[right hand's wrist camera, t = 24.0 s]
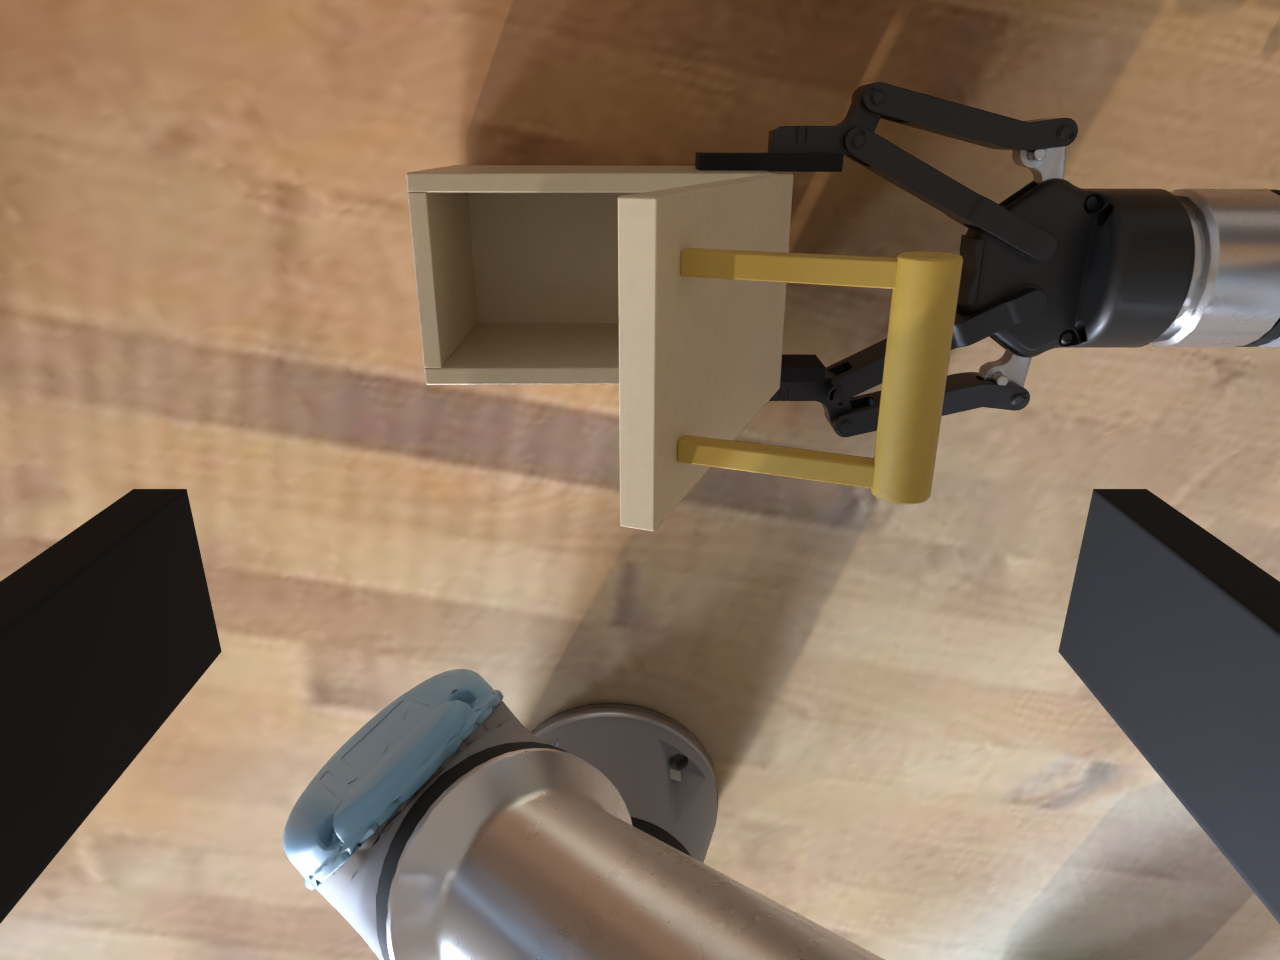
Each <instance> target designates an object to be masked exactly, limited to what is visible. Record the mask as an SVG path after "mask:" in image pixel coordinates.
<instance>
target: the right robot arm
mask: <svg viewBox="0 0 1280 960" xmlns="http://www.w3.org/2000/svg"><path fill="white" fill-rule="evenodd" d="M220 653H221V647H220V643H219V638H218V633H217V629H216V624H215V619H214V615H213V610H212V606H211V601H210V596H209V592H208V587H207V582H206V578H205V573H204V568H203V564H202V559H201V554H200V550H199V545H198V540H197V536H196V531H195V526H194V522H193V517H192V513H191V508H190V503H189V499H188V494H187V489H133V490H132V491H130V492H129V493H127V494H126V495H124V496H123V497H122V498H120V499H119V500H117V501H116V502H114V503H113V504H112V505H110V506H109V507H107V508H106V509H104V510H103V511H101V512H100V513H99V514H97V515H96V516H94V517H93V518H91V519H90V520H89V521H87V522H86V523H84V524H83V525H81V526H80V527H78V528H77V529H76V530H74V531H73V532H71V533H70V534H68V535H67V536H66V537H64V538H63V539H61V540H60V541H58V542H57V543H55V544H54V545H53V546H51V547H50V548H48V549H47V550H45V551H44V552H43V553H41V554H40V555H38V556H37V557H35V558H34V559H32V560H31V561H30V562H28V563H27V564H25V565H24V566H22V567H21V568H20V569H18V570H17V571H15V572H14V573H12V574H11V575H9V576H8V577H7V578H5V579H4V580H2V581H1V582H0V923H1V922H2V921H3V920H4V918H5V917H6V916H7V915H8V913H9V912H10V911H11V910H12V908H13V907H14V906H15V905H16V904H17V902H18V901H19V900H20V899H21V897H22V896H23V895H24V894H25V893H26V891H27V890H28V889H29V888H30V886H31V885H32V884H33V883H34V881H35V880H36V879H37V878H38V877H39V875H40V874H41V873H42V872H43V870H44V869H45V868H46V867H47V865H48V864H49V863H50V862H51V861H52V859H53V858H54V857H55V856H56V854H57V853H58V852H59V851H60V849H61V848H62V847H63V846H64V845H65V843H66V842H67V841H68V840H69V838H70V837H71V836H72V835H73V833H74V832H75V831H76V830H77V829H78V827H79V826H80V825H81V824H82V822H83V821H84V820H85V819H86V818H87V816H88V815H89V814H90V813H91V811H92V810H93V809H94V808H95V806H96V805H97V804H98V803H99V802H100V800H101V799H102V798H103V797H104V795H105V794H106V793H107V792H108V790H109V789H110V788H111V787H112V786H113V784H114V783H115V782H116V781H117V779H118V778H119V777H120V776H121V774H122V773H123V772H124V771H125V770H126V768H127V767H128V766H129V765H130V763H131V762H132V761H133V760H134V758H135V757H136V756H137V755H138V754H139V752H140V751H141V750H142V749H143V747H144V746H145V745H146V744H147V743H148V741H149V740H150V739H151V738H152V736H153V735H154V734H155V733H156V731H157V730H158V729H159V728H160V727H161V725H162V724H163V723H164V722H165V720H166V719H167V718H168V717H169V715H170V714H171V713H172V712H173V711H174V709H175V708H176V707H177V706H178V704H179V703H180V702H181V701H182V699H183V698H184V697H185V696H186V695H187V693H188V692H189V691H190V690H191V688H192V687H193V686H194V685H195V683H196V682H197V681H198V680H199V679H200V677H201V676H202V675H203V674H204V672H205V671H206V670H207V669H208V668H209V666H210V665H211V664H212V663H213V661H214V660H215V659H216V658H217V656H218V655H219V654H220ZM1059 653H1060V654H1061V655H1062V656H1063V658H1064V659H1065V660H1066V661H1067V663H1068V664H1069V665H1070V666H1071V668H1072V669H1073V670H1074V671H1075V672H1076V674H1077V675H1078V676H1079V677H1080V679H1081V680H1082V681H1083V682H1084V683H1085V685H1086V686H1087V687H1088V688H1089V690H1090V691H1091V692H1092V693H1093V695H1094V696H1095V697H1096V698H1097V699H1098V701H1099V702H1100V703H1101V704H1102V706H1103V707H1104V708H1105V709H1106V711H1107V712H1108V713H1109V714H1110V715H1111V717H1112V718H1113V719H1114V720H1115V722H1116V723H1117V724H1118V725H1119V727H1120V728H1121V729H1122V730H1123V731H1124V733H1125V734H1126V735H1127V736H1128V738H1129V739H1130V740H1131V741H1132V743H1133V744H1134V745H1135V746H1136V747H1137V749H1138V750H1139V751H1140V752H1141V754H1142V755H1143V756H1144V757H1145V758H1146V760H1147V761H1148V762H1149V763H1150V765H1151V766H1152V767H1153V768H1154V770H1155V771H1156V772H1157V773H1158V774H1159V776H1160V777H1161V778H1162V779H1163V781H1164V782H1165V783H1166V784H1167V786H1168V787H1169V788H1170V789H1171V790H1172V792H1173V793H1174V794H1175V795H1176V797H1177V798H1178V799H1179V800H1180V802H1181V803H1182V804H1183V805H1184V806H1185V808H1186V809H1187V810H1188V811H1189V813H1190V814H1191V815H1192V816H1193V818H1194V819H1195V820H1196V821H1197V822H1198V824H1199V825H1200V826H1201V827H1202V829H1203V830H1204V831H1205V832H1206V833H1207V835H1208V836H1209V837H1210V838H1211V840H1212V841H1213V842H1214V843H1215V845H1216V846H1217V847H1218V848H1219V849H1220V851H1221V852H1222V853H1223V854H1224V856H1225V857H1226V858H1227V859H1228V861H1229V862H1230V863H1231V864H1232V865H1233V867H1234V868H1235V869H1236V870H1237V872H1238V873H1239V874H1240V875H1241V877H1242V878H1243V879H1244V880H1245V881H1246V883H1247V884H1248V885H1249V886H1250V888H1251V889H1252V890H1253V891H1254V893H1255V894H1256V895H1257V896H1258V897H1259V899H1260V900H1261V901H1262V902H1263V904H1264V905H1265V906H1266V907H1267V908H1268V910H1269V911H1270V912H1271V913H1272V915H1273V916H1274V917H1275V918H1276V920H1277V921H1278V922H1279V923H1280V582H1279V581H1278V580H1276V579H1275V578H1273V577H1272V576H1271V575H1269V574H1268V573H1266V572H1265V571H1263V570H1262V569H1260V568H1259V567H1258V566H1256V565H1255V564H1253V563H1252V562H1250V561H1249V560H1248V559H1246V558H1245V557H1243V556H1242V555H1240V554H1239V553H1237V552H1236V551H1235V550H1233V549H1232V548H1230V547H1229V546H1227V545H1226V544H1225V543H1223V542H1222V541H1220V540H1219V539H1217V538H1216V537H1214V536H1213V535H1212V534H1210V533H1209V532H1207V531H1206V530H1204V529H1203V528H1202V527H1200V526H1199V525H1197V524H1196V523H1194V522H1193V521H1191V520H1190V519H1189V518H1187V517H1186V516H1184V515H1183V514H1181V513H1180V512H1179V511H1177V510H1176V509H1174V508H1173V507H1171V506H1170V505H1168V504H1167V503H1166V502H1164V501H1163V500H1161V499H1160V498H1158V497H1157V496H1156V495H1154V494H1153V493H1151V492H1150V491H1148V490H1147V489H1093V494H1092V499H1091V503H1090V508H1089V513H1088V517H1087V522H1086V526H1085V531H1084V536H1083V540H1082V545H1081V550H1080V554H1079V559H1078V564H1077V568H1076V573H1075V578H1074V582H1073V587H1072V592H1071V596H1070V601H1069V606H1068V610H1067V615H1066V619H1065V624H1064V629H1063V633H1062V638H1061V643H1060V647H1059Z"/></svg>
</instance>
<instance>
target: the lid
mask: <svg viewBox="0 0 1280 960" xmlns="http://www.w3.org/2000/svg"><path fill="white" fill-rule="evenodd" d="M792 191H793V174H763V175H756V176H750V177H743V178H736V179H730V180H723V181H716V182H710V183H703V184H696V185H690V186H683V187H676V188H670V189H663V190H656V191H650V192H643V193H636V194H630V195H623V196H619V197H618V287H619V420H620V525H621V526H624V527H630V528H636V529H642V530H648V531H655V530H656V529H657V528H658V526H659V525H660V524H661V523H662V522H663V521H664V520H665V518H666V517H667V516H668V515H669V514H670V513H671V512H672V510H673V509H674V508H675V507H676V506H677V505H678V504H679V503H680V501H681V500H682V499H683V498H684V497H685V496H686V495H687V493H688V492H689V491H690V490H691V489H692V488H693V487H694V485H695V484H696V483H697V482H698V481H699V480H700V479H701V477H702V476H703V475H704V474H705V473H706V472H707V471H708V469H709V468H710V467H718V468H725V469H732V470H740V471H747V472H754V473H762V474H769V475H776V476H784V477H791V478H798V479H805V480H813V481H820V482H827V483H835V484H842V485H849V486H857V487H864V488H871V491H872V493H873V494H874V495H875V496H876V497H878V498H880V499H882V500H885V501H888V502H893V503H899V504H917V503H922V502H924V501H926V500H928V498H929V497H930V494H931V487H932V479H933V472H934V465H935V458H936V451H937V444H938V436H939V429H940V422H941V415H942V408H943V401H944V393H945V386H946V379H947V372H948V365H949V357H950V350H951V343H952V336H953V329H954V322H955V314H956V307H957V300H958V293H959V286H960V278H961V271H962V264H963V257H962V256H960V255H958V254H954V253H947V252H935V251H909V252H902V253H899V254H898V255H897V256H896V258H893V257H871V256H850V255H829V254H808V253H789V238H790V222H791V207H792ZM787 283H803V284H820V285H836V286H853V287H870V288H887V289H893V291H892V300H891V309H890V318H889V327H888V336H887V345H886V354H885V363H884V372H883V381H882V390H881V399H880V408H879V417H878V427H877V436H876V445H875V454H874V458H867V457H859V456H851V455H843V454H835V453H827V452H819V451H811V450H803V449H795V448H787V447H779V446H771V445H763V444H755V443H747V442H739V441H734V440H735V439H736V437H737V436H738V435H739V434H740V433H741V432H742V431H743V430H744V428H745V427H746V426H747V425H748V424H749V423H750V422H751V420H752V419H753V418H754V417H755V416H756V415H757V414H758V412H759V411H760V410H761V409H762V408H763V407H764V406H765V404H766V403H767V402H768V401H769V400H770V399H771V398H772V396H773V395H774V394H775V393H776V392H777V391H778V390H779V388H780V377H781V361H782V346H783V330H784V315H785V300H786V284H787Z"/></svg>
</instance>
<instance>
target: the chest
mask: <svg viewBox="0 0 1280 960" xmlns="http://www.w3.org/2000/svg"><path fill="white" fill-rule="evenodd" d="M763 174H777V173H774V172H769V171H699V170H697V169H695V165H453V166H447V167H440V168H434V169H428V170H421V171H415V172H409V173H406V178H407V189H408V192H409V193H408V201H409V211H410V222H411V233H412V243H413V254H414V264H415V275H416V286H417V296H418V307H419V317H420V328H421V338H422V349H423V360H424V368H425V379H426V384H428V385H462V384H619V287H618V197H619V196H623V195H630V194H636V193H643V192H650V191H656V190H663V189H670V188H676V187H683V186H690V185H696V184H703V183H710V182H716V181H723V180H730V179H736V178H743V177H750V176H756V175H763Z"/></svg>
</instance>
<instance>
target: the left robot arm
mask: <svg viewBox="0 0 1280 960" xmlns="http://www.w3.org/2000/svg"><path fill="white" fill-rule="evenodd" d="M851 102H852V103H851V105H850V108H849V110H848V112H847V115H846V116H845V118H844V119H843V121H842V122H841V123H839V124H838V125H835V126H780V127H778V128H775V129H773V130H771V131H769V141H768V153H696V161H695V169H697V170H699V171H796V172H842V165H843V155H845V156H847V157H848V158H850V159H852V160H854V161H855V162H857V163H859V164H860V165H862V166H864V167H866V168H867V169H869V170H871V171H872V172H874V173H876V174H878V175H879V176H881V177H883V178H885V179H886V180H888V181H890V182H891V183H893V184H895V185H897V186H898V187H900V188H902V189H904V190H905V191H907V192H909V193H910V194H912V195H914V196H916V197H917V198H919V199H921V200H923V201H924V202H926V203H928V204H929V205H931V206H933V207H935V208H936V209H938V210H940V211H941V212H943V213H945V214H946V215H947V216H949V217H950V218H952V219H953V220H955V221H957V222H959V223H960V224H962V225H964V226H965V227H967V228H969V229H968V231H967V233H966V235H962V238H961V245H960V256H962V257H963V264H962V271H961V278H960V286H959V293H958V300H957V307H956V314H955V322H954V329H953V336H952V343H951V350H952V349H955V348H958V347H965V346H969V345H971V344H973V343H976V342H978V341H980V340H982V339H984V338H986V337H988V336H990V337H991V338H992V339H993V340H995V341H996V342H997V343H998V344H1000V345H1001V346H1002V347H1003V348H1005V349H1006V351H1005V353H1004V355H1003V356H1002V358H1000V359H999V360H997V361H993V362H988V363H985V364H984V365H982V366H981V367H980V369H979V373H977V372H967V373H958V374H953V375H949V376H947V379H946V386H945V393H944V401H943V408H942V415H941V416H943V415H948V414H952V413H957V412H961V411H966V410H970V409H975V408H979V407H989V408H998V409H1007V410H1020V409H1023V408H1024V407H1025V406H1026V405H1027V404H1028V402H1029V400H1030V395H1029V392H1028V391H1027V390H1026V389H1025V388H1023V385H1024V382H1025V378H1026V375H1027V371H1028V368H1029V364H1030V361H1031V358H1032V357H1034V356H1037V355H1039V354H1041V353H1043V352H1045V351H1047V350H1050V349H1053V348H1059V347H1142V346H1145V345H1147V344H1149V345H1151V346H1153V347H1254V346H1267V347H1280V190H1268V189H1179V190H1174V191H1172V192H1168V191H1166V190H1162V189H1081V188H1078V187H1076V186H1074V185H1072V184H1071V183H1070V182H1068V181H1066V180H1064V179H1063V177H1064V163H1065V149H1066V146H1067V145H1069V144H1070V143H1072V142H1073V141H1074V139H1075V138H1076V136H1077V132H1078V128H1077V124H1076V123H1075V121H1074V120H1072V119H1071V118H1053V119H1038V120H1029V121H1020V120H1017V119H1013V118H1009V117H1006V116H1002V115H998V114H995V113H991V112H987V111H984V110H980V109H977V108H973V107H969V106H966V105H962V104H958V103H955V102H951V101H947V100H944V99H940V98H936V97H933V96H929V95H926V94H922V93H918V92H915V91H911V90H907V89H904V88H900V87H896V86H893V85H889V84H885V83H880V82H876V83H872V84H867V85H863V86H861V87H858V88H857V89H856V90H855V91H854V93H853V95H852V101H851ZM880 118H881V119H885V120H888V121H892V122H896V123H899V124H903V125H907V126H910V127H914V128H918V129H922V130H925V131H929V132H933V133H936V134H940V135H944V136H947V137H951V138H955V139H959V140H962V141H966V142H970V143H973V144H977V145H981V146H984V147H989V148H994V149H1004V150H1013V152H1012V156H1013V161H1014V162H1015V164H1016V165H1018V166H1020V167H1026V168H1028V169H1030V170H1031V171H1032V173H1033V175H1034V181H1032V182H1031V183H1029V184H1028V185H1026V186H1025V187H1023V188H1022V189H1020V190H1019V191H1017V192H1016V193H1014V194H1013V195H1011V196H1010V197H1009V198H1007V199H1006V200H1004V201H1003V202H1001V203H1000V204H997V203H995V202H993V201H992V200H990V199H988V198H986V197H984V196H981V195H979V194H977V193H975V192H974V191H972V190H970V189H969V188H967V187H965V186H963V185H962V184H960V183H958V182H957V181H955V180H953V179H952V178H950V177H948V176H946V175H945V174H943V173H941V172H940V171H938V170H936V169H935V168H933V167H931V166H929V165H928V164H926V163H924V162H923V161H921V160H919V159H918V158H916V157H914V156H913V155H911V154H909V153H907V152H906V151H904V150H902V149H901V148H899V147H897V146H896V145H894V144H892V143H890V142H889V141H887V140H885V139H884V138H882V137H880V136H879V135H877V134H875V133H874V131H875V129H876V126H877V124H878V122H879V119H880ZM886 345H887V339H885V340H882V341H880V342H878V343H876V344H874V345H872V346H870V347H868V348H866V349H864V350H862V351H860V352H858V353H856V354H854V355H851V356H849V357H847V358H845V359H843V360H841V361H839V362H837V363H835V364H833V365H831V366H829V367H827V368H825V366H824V365H823V364H822V363H821V361H820V360H819V359H818V358H817V356H816V355H782V361H781V377H780V388H779V390H778V391H777V392H776V393H775V394H774V395H773V396H772V398H771V399H770V400H769V401H818V402H821V403H822V404H823V407H824V410H825V416H826V419H827V420H828V422H829V423H830V425H831V426H832V428H833V429H834V431H835V432H836V433H837V434H838V435H839V436H841V437H849V436H854V435H858V434H863V433H867V432H872V431H876V430H877V427H878V417H879V408H880V399H881V391H878V392H874V393H869V394H865V395H860V396H856V397H853V396H855V395H857V394H860V393H862V392H864V391H866V390H868V389H870V388H872V387H874V386H876V385H879V384H881V383H882V381H883V372H884V363H885V354H886ZM851 397H852V398H851ZM502 699H503V695H502V693H501V692H500V691H499V690H494V689H493V688H492V687H491V686H490V685H489V684H488V683H487V682H486V681H485V680H484V679H483V678H482V677H481V676H480V675H479V674H477V673H476V672H474V671H471V670H467V669H456V670H450V671H446V672H443V673H441V674H438V675H436V676H434V677H432V678H430V679H428V680H426V681H424V682H422V683H421V684H419V685H417V686H416V687H414V688H413V689H411V690H410V691H408V692H406V693H405V694H403V695H402V696H400V697H399V698H398V699H396V700H395V701H394V702H392V703H391V704H390V705H388V706H387V707H386V708H384V709H383V710H382V711H381V712H380V713H378V714H377V715H376V716H375V717H373V718H372V719H371V720H370V721H369V722H368V723H366V724H365V725H364V726H363V727H362V728H361V729H360V730H359V731H358V732H357V733H355V734H354V735H353V736H352V737H351V738H350V739H349V740H348V741H347V742H346V743H345V744H344V745H343V746H342V747H341V748H340V749H339V750H338V751H337V752H336V753H335V754H334V755H333V756H332V757H331V759H330V760H329V761H328V762H327V763H326V764H325V765H324V766H323V768H322V769H321V770H320V771H319V772H318V774H317V775H316V776H315V777H314V779H313V780H312V781H311V782H310V783H309V785H308V787H307V788H306V790H305V791H304V792H303V793H302V795H301V796H300V798H299V799H298V801H297V802H296V804H295V806H294V808H293V809H292V811H291V813H290V816H289V818H288V820H287V823H286V826H285V830H284V836H283V842H284V849H285V852H286V854H287V857H288V858H289V860H290V861H291V862H292V863H293V865H294V866H295V867H296V868H297V869H298V870H299V872H300V873H301V874H302V875H303V876H304V877H305V886H306V887H308V888H309V889H311V891H312V890H313V889H314V888H316V889H317V890H318V891H319V892H320V893H321V894H322V895H323V896H324V897H325V898H326V899H327V900H328V901H329V902H330V903H331V904H332V905H333V906H334V907H335V908H336V909H337V910H338V911H339V912H340V913H341V914H342V915H343V916H344V918H345V919H346V920H347V921H348V922H349V923H350V924H351V925H352V926H353V927H354V928H355V929H356V931H357V932H358V933H359V934H360V935H361V936H362V937H363V939H364V940H365V941H366V942H367V944H368V945H369V946H370V948H371V949H372V950H373V952H374V953H375V954H376V956H377V957H378V958H379V959H380V960H884V959H883V958H881V957H879V956H877V955H875V954H873V953H871V952H869V951H867V950H866V949H864V948H862V947H860V946H858V945H856V944H854V943H852V942H851V941H849V940H847V939H845V938H843V937H841V936H839V935H837V934H835V933H834V932H832V931H830V930H828V929H826V928H824V927H822V926H820V925H818V924H817V923H815V922H813V921H811V920H809V919H807V918H805V917H803V916H802V915H800V914H798V913H796V912H794V911H792V910H790V909H788V908H786V907H785V906H783V905H781V904H779V903H777V902H775V901H773V900H771V899H770V898H768V897H766V896H764V895H762V894H760V893H758V892H756V891H754V890H753V889H751V888H749V887H747V886H745V885H743V884H741V883H739V882H737V881H736V880H734V879H732V878H730V877H728V876H726V875H724V874H722V873H721V872H719V871H717V870H715V869H713V868H711V867H709V866H707V865H705V864H704V863H703V862H704V859H705V856H706V853H707V850H708V847H709V843H710V840H711V837H712V834H713V831H714V828H715V824H716V818H717V810H718V793H717V784H716V777H715V772H714V768H713V765H712V763H711V760H710V758H709V756H708V754H707V752H706V751H705V749H704V748H703V746H702V745H701V744H700V742H699V741H698V740H697V739H696V738H695V737H694V736H693V735H692V734H691V733H690V732H689V731H688V730H687V729H685V728H684V727H683V726H681V725H680V724H679V723H677V722H675V721H674V720H672V719H670V718H668V717H666V716H664V715H662V714H660V713H657V712H655V711H652V710H649V709H646V708H642V707H637V706H633V705H625V704H595V705H588V706H583V707H578V708H575V709H571V710H568V711H566V712H563V713H561V714H558V715H556V716H554V717H552V718H550V719H549V720H547V721H545V722H544V723H542V724H541V725H539V726H538V727H537V728H536V729H534V730H533V731H532V732H530V731H528V730H527V729H526V728H525V727H524V726H523V725H522V724H521V723H520V722H519V721H518V719H517V718H516V717H515V716H514V715H513V713H512V712H511V711H510V710H509V709H508V707H507V706H506V705H505V704H504V702H503V701H502Z"/></svg>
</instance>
